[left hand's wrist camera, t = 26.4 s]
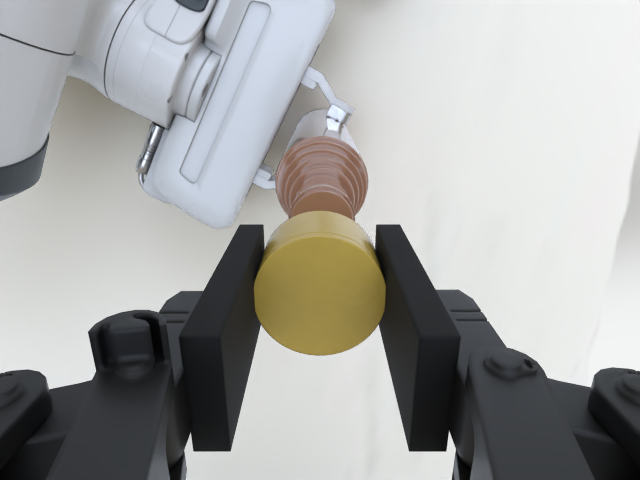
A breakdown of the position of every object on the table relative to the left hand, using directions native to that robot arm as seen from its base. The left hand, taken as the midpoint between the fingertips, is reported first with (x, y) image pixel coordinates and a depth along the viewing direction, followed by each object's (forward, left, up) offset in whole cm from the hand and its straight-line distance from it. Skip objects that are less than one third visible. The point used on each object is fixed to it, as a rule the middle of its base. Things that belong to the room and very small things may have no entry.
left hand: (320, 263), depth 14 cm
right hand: (0, -1, -23) cm, 23 cm away
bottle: (0, 0, -29) cm, 29 cm away
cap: (0, 0, +2) cm, 2 cm away
